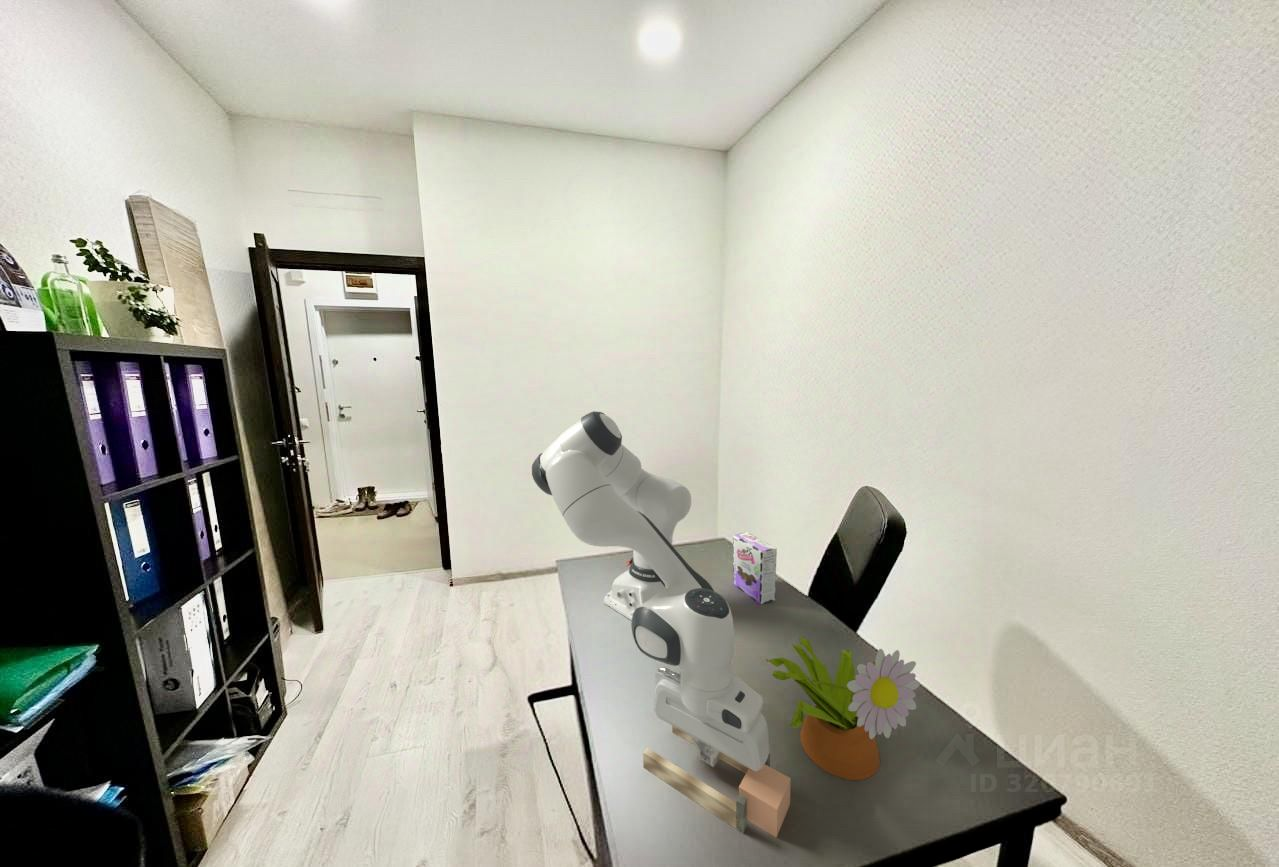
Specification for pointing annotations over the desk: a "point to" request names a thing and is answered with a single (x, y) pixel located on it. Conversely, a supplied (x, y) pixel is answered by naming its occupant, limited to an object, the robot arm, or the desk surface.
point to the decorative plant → (850, 708)
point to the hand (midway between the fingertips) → (707, 760)
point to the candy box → (754, 567)
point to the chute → (701, 785)
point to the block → (766, 797)
